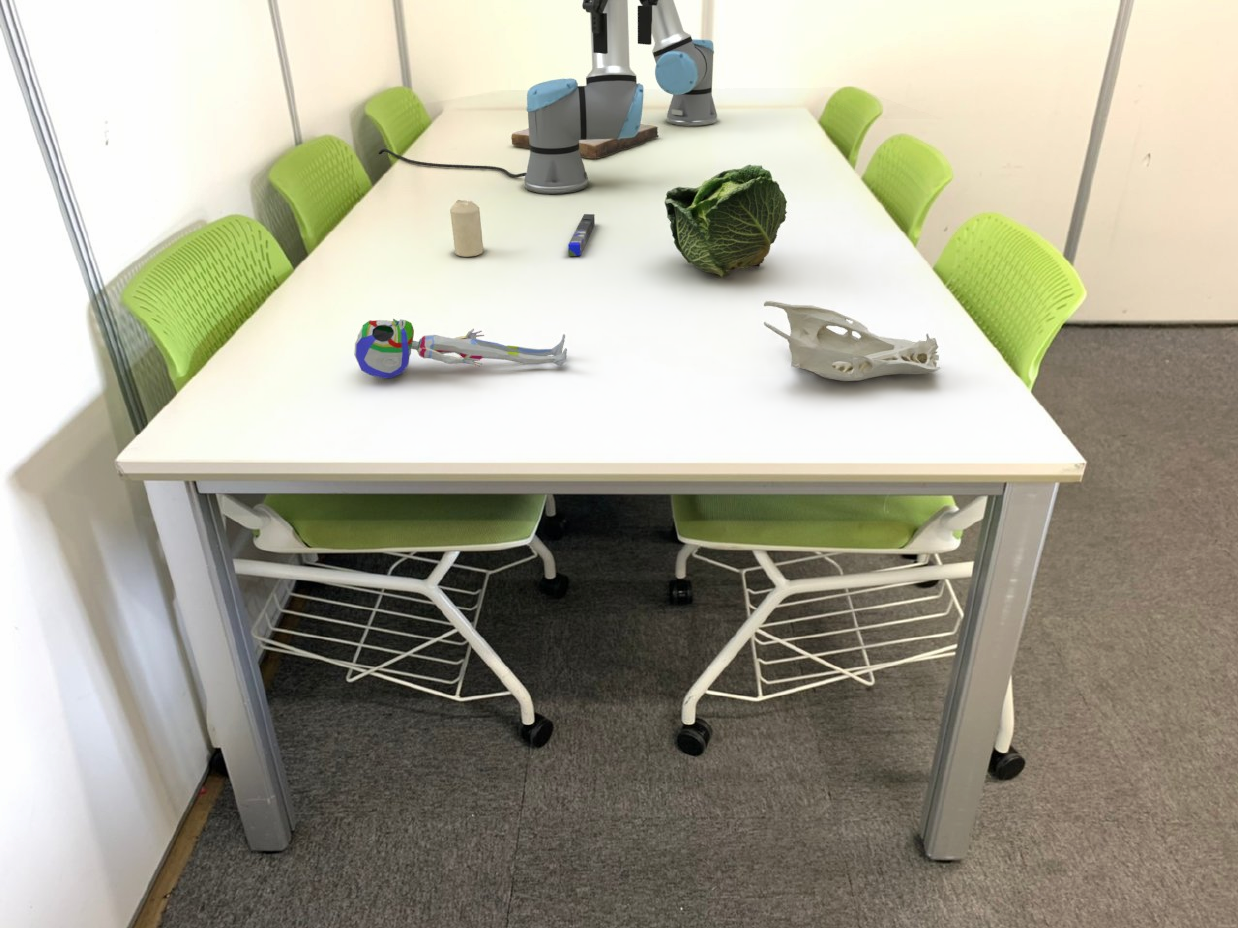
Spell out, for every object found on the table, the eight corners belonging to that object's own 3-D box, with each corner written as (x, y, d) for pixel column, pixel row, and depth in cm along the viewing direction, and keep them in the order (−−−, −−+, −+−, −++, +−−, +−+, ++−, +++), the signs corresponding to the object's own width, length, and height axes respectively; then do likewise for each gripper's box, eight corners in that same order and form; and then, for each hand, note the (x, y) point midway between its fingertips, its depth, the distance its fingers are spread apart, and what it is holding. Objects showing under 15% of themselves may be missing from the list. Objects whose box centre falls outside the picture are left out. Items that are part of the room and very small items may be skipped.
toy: (569, 347, 126) (349, 329, 122) (563, 400, 131) (350, 385, 126) (565, 318, 135) (359, 301, 130) (559, 369, 139) (360, 354, 134)
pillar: (594, 214, 188) (579, 245, 171) (594, 224, 189) (579, 256, 172) (584, 214, 188) (567, 245, 171) (584, 224, 189) (568, 256, 172)
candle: (488, 249, 176) (483, 198, 171) (475, 258, 172) (470, 206, 167) (463, 246, 178) (457, 196, 173) (450, 255, 174) (443, 204, 168)
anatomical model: (764, 291, 133) (938, 293, 129) (761, 348, 137) (929, 352, 134) (762, 333, 120) (955, 337, 116) (759, 393, 125) (945, 399, 121)
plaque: (595, 132, 231) (509, 119, 246) (596, 160, 235) (510, 145, 250) (660, 113, 252) (577, 102, 267) (660, 139, 256) (577, 127, 271)
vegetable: (694, 294, 173) (643, 202, 166) (775, 239, 175) (728, 145, 167) (734, 307, 155) (678, 205, 147) (824, 245, 156) (773, 141, 149)
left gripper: (593, -84, 145) (597, 59, 156) (679, -87, 162) (677, 42, 173) (558, -84, 149) (564, 55, 160) (646, -87, 165) (645, 39, 177)
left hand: (623, 48), depth 167 cm, fingers open, 13 cm apart
